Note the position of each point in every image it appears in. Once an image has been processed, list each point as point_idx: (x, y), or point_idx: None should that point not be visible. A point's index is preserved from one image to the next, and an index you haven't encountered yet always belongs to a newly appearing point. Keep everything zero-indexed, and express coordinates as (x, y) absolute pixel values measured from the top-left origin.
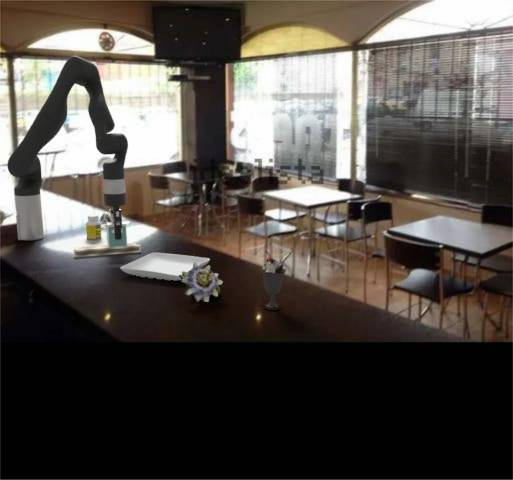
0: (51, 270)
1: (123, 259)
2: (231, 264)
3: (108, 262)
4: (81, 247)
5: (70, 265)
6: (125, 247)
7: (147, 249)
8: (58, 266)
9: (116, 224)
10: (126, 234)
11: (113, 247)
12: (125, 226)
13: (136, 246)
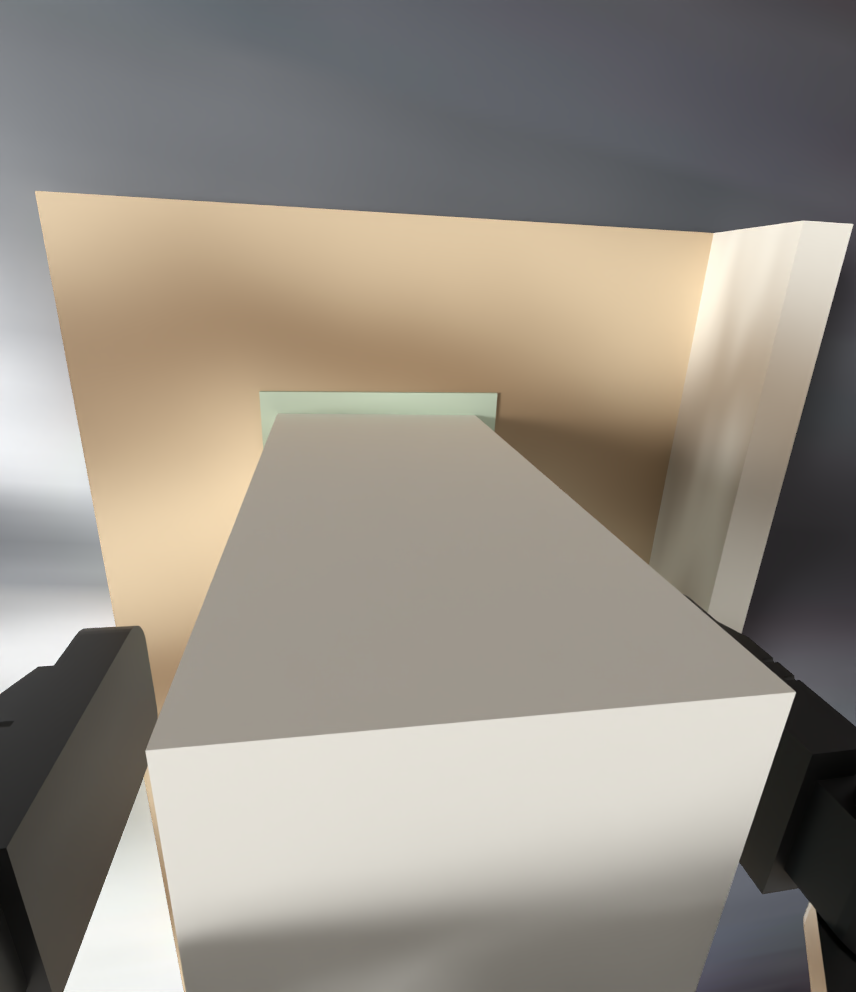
0: (786, 969)
1: (803, 492)
2: None
3: (821, 639)
4: None
5: (733, 894)
6: (764, 490)
7: (428, 26)
8: (714, 954)
9: (692, 987)
10: (568, 501)
11: None
12: (707, 644)
13: (819, 305)
